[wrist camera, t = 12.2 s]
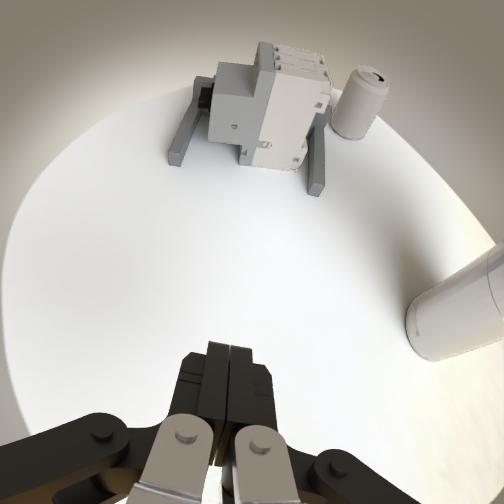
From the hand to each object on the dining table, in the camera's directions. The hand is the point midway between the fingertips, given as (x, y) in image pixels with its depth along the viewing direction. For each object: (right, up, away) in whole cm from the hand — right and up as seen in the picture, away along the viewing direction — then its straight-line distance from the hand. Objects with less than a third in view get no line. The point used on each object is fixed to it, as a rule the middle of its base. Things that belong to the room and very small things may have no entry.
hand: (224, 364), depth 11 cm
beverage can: (+17, +24, +39) cm, 49 cm away
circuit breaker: (0, +19, +33) cm, 38 cm away
